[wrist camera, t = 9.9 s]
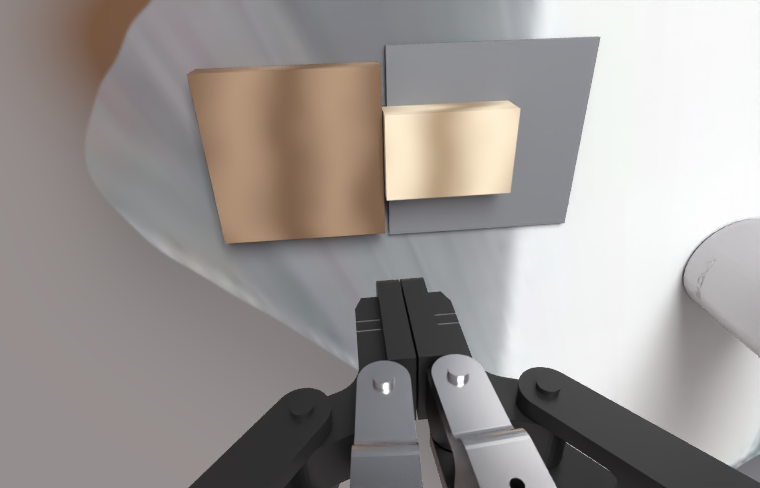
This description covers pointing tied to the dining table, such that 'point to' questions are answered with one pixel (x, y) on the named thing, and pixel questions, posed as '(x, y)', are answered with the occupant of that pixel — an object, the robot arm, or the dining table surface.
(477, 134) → the beech tile
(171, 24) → the dining table surface
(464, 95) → the charcoal mat
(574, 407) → the robot arm
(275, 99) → the block
